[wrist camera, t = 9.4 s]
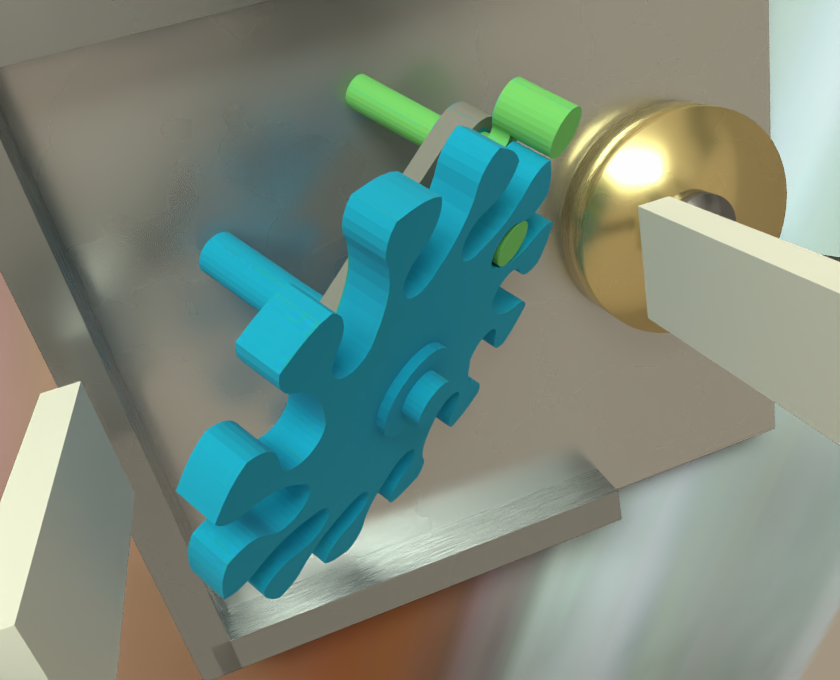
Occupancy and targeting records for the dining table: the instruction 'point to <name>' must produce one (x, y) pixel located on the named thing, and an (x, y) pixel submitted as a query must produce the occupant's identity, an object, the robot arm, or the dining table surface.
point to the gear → (373, 333)
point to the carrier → (327, 252)
